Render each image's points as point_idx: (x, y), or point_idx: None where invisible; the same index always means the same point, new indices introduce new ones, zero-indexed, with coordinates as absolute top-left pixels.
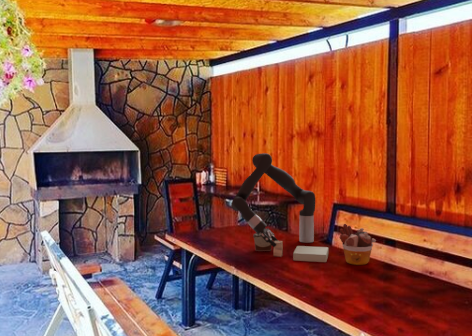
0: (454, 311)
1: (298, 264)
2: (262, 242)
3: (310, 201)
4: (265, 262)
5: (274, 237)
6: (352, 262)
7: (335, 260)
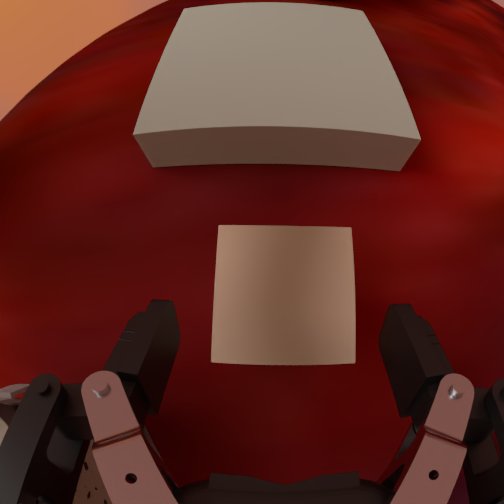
0: (501, 8)
1: (463, 145)
2: (94, 494)
3: None
4: (498, 359)
5: (139, 378)
6: None
7: None
